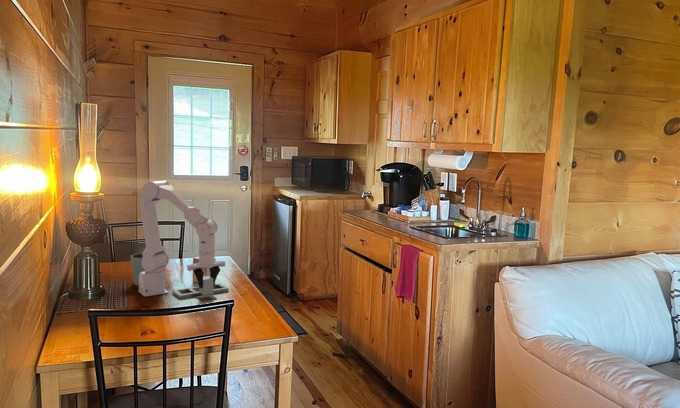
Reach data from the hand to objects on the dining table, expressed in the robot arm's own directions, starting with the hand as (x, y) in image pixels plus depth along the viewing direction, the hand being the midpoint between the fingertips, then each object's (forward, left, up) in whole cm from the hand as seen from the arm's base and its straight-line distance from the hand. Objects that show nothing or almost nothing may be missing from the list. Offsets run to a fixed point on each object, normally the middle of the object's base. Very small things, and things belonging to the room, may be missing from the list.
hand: (206, 286), depth 193 cm
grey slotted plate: (+1, +8, -5) cm, 9 cm away
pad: (0, 0, -5) cm, 5 cm away
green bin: (-14, +32, -5) cm, 35 cm away
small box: (+8, +22, -5) cm, 24 cm away
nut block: (0, 0, -2) cm, 3 cm away
